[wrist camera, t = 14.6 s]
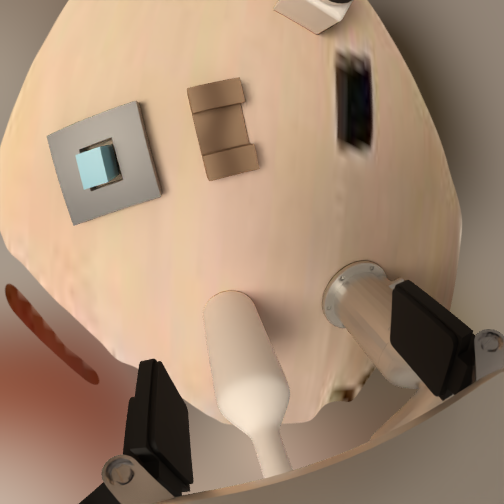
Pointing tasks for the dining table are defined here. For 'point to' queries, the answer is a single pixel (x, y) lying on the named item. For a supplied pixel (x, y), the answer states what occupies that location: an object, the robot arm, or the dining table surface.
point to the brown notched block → (222, 128)
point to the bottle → (247, 376)
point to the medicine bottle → (314, 12)
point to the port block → (128, 154)
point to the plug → (97, 166)
